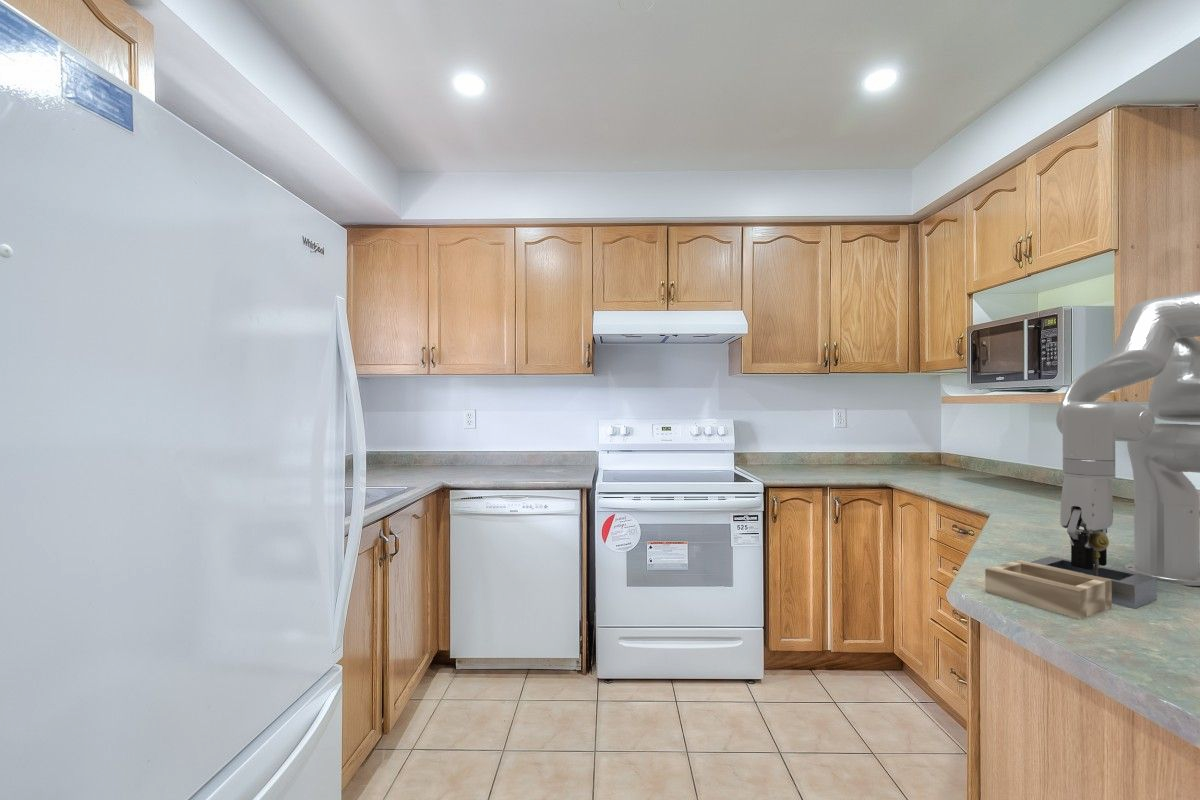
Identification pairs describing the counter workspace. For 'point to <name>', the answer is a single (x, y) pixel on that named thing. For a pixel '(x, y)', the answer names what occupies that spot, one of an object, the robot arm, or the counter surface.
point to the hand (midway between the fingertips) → (1088, 564)
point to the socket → (1050, 588)
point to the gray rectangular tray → (1114, 582)
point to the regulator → (1098, 546)
